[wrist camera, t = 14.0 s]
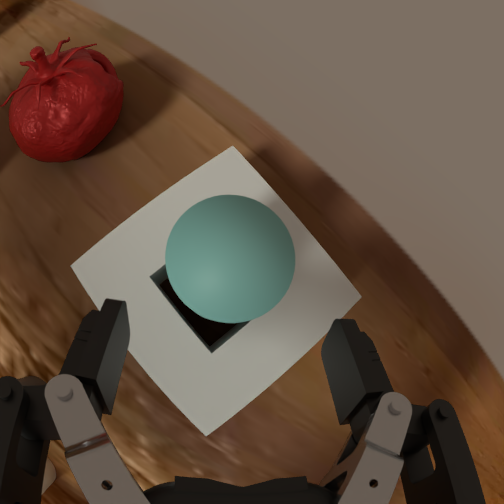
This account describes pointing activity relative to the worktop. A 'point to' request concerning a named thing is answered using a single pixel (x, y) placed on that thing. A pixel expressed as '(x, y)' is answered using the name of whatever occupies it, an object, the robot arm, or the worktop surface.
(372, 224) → the worktop surface
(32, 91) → the pomegranate
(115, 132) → the worktop surface
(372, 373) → the robot arm
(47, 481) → the cream pin
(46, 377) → the worktop surface
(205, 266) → the teal pin
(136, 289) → the socket block
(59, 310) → the worktop surface
